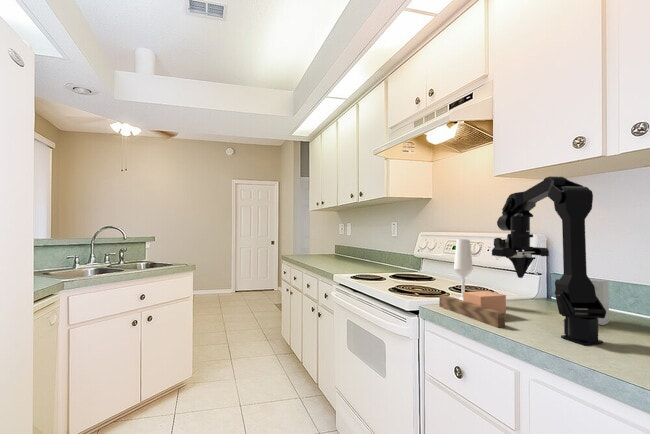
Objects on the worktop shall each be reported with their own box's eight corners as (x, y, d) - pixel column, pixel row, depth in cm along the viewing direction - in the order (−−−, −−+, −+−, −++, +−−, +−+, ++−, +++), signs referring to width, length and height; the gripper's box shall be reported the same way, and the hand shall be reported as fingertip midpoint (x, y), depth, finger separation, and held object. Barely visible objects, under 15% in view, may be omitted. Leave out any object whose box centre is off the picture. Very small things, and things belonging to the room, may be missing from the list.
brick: (505, 317, 115) (505, 295, 115) (480, 319, 112) (480, 296, 112) (487, 311, 123) (487, 290, 123) (463, 313, 120) (463, 292, 120)
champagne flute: (474, 304, 132) (474, 240, 133) (454, 303, 134) (455, 239, 134) (470, 301, 139) (471, 239, 139) (452, 300, 140) (452, 239, 141)
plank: (504, 327, 102) (504, 313, 103) (498, 327, 102) (498, 313, 102) (445, 306, 129) (445, 295, 129) (439, 306, 129) (439, 295, 129)
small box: (609, 322, 110) (609, 279, 110) (603, 325, 106) (603, 281, 106) (578, 317, 116) (578, 276, 116) (571, 320, 112) (571, 278, 112)
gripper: (522, 231, 130) (522, 273, 130) (480, 230, 125) (480, 275, 124) (549, 231, 120) (550, 278, 119) (504, 231, 114) (504, 279, 114)
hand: (520, 277), depth 119 cm, fingers closed
